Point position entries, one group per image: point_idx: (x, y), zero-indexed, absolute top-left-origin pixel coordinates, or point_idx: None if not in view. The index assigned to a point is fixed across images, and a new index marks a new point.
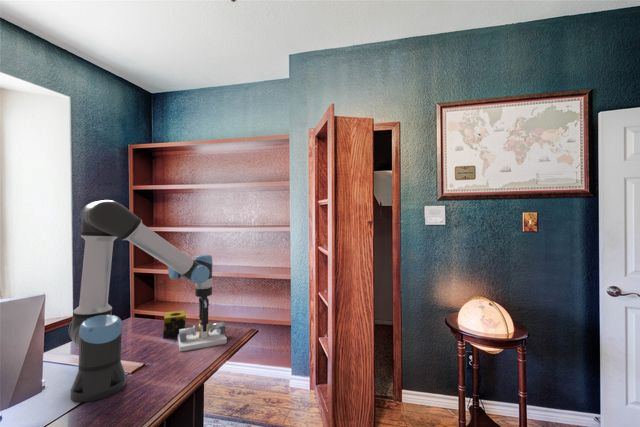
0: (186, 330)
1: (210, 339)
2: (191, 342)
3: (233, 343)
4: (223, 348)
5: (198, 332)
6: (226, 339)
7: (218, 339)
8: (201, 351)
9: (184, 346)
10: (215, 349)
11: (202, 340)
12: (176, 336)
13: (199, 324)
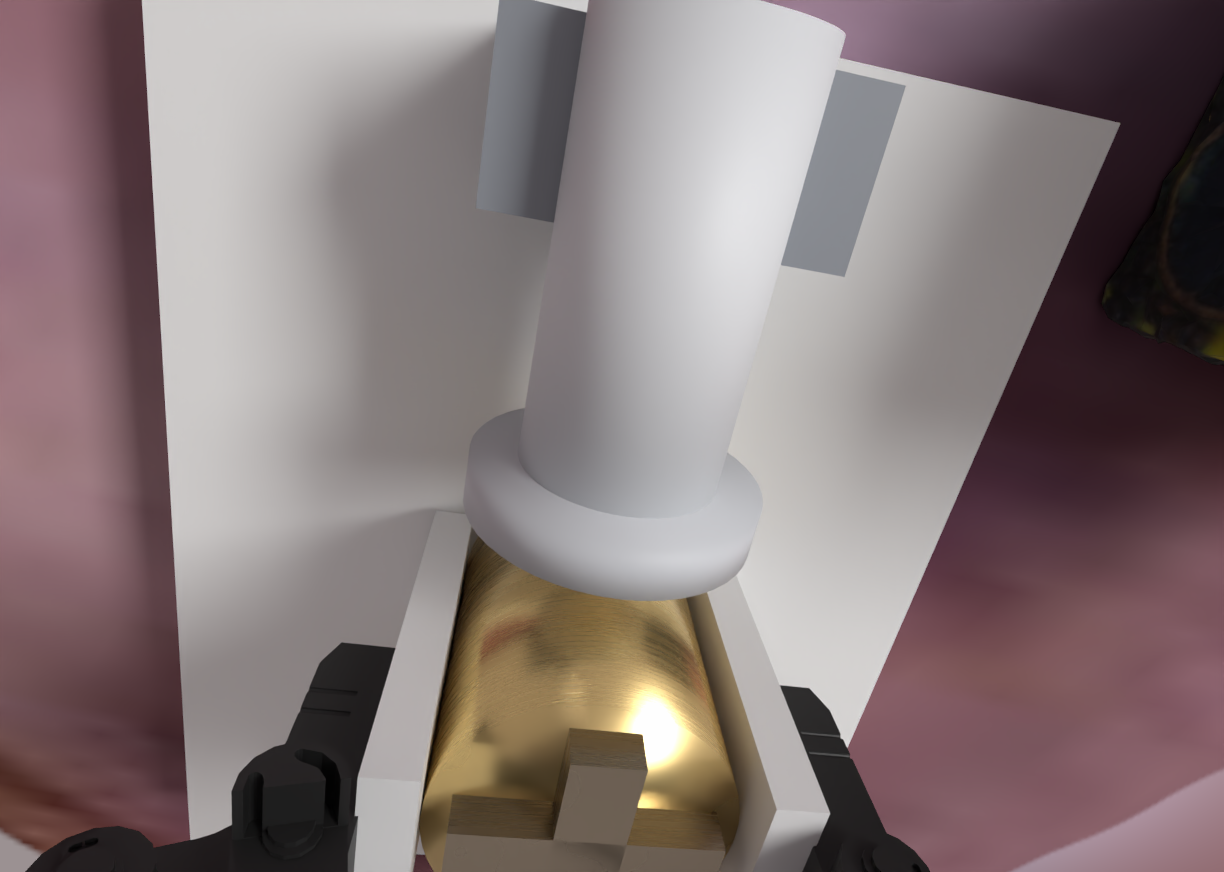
0: (583, 255)
1: (309, 635)
2: (338, 271)
3: (163, 836)
4: (7, 687)
5: (860, 552)
6: (195, 827)
7: (230, 739)
8: (10, 355)
9: (150, 36)
10: (12, 581)
11: (335, 503)
12: (1195, 133)
13: (588, 721)
